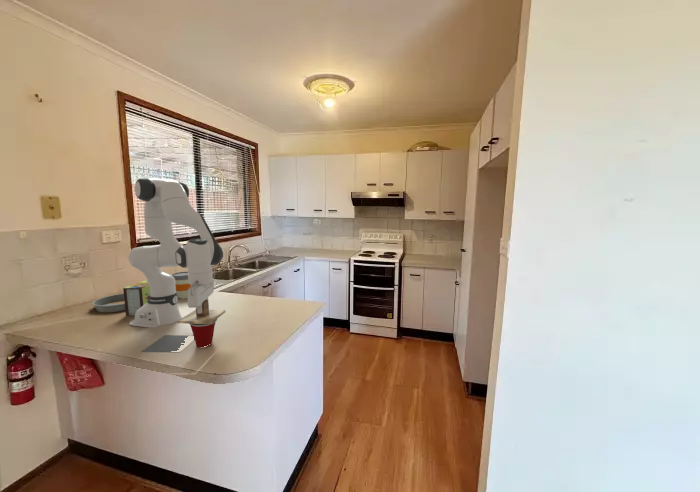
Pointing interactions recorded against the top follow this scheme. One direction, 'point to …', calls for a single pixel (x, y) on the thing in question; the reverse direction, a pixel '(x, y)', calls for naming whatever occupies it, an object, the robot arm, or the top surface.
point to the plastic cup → (203, 333)
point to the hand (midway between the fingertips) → (202, 310)
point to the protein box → (135, 297)
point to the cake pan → (104, 305)
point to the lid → (202, 315)
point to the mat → (166, 344)
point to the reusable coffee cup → (181, 284)
